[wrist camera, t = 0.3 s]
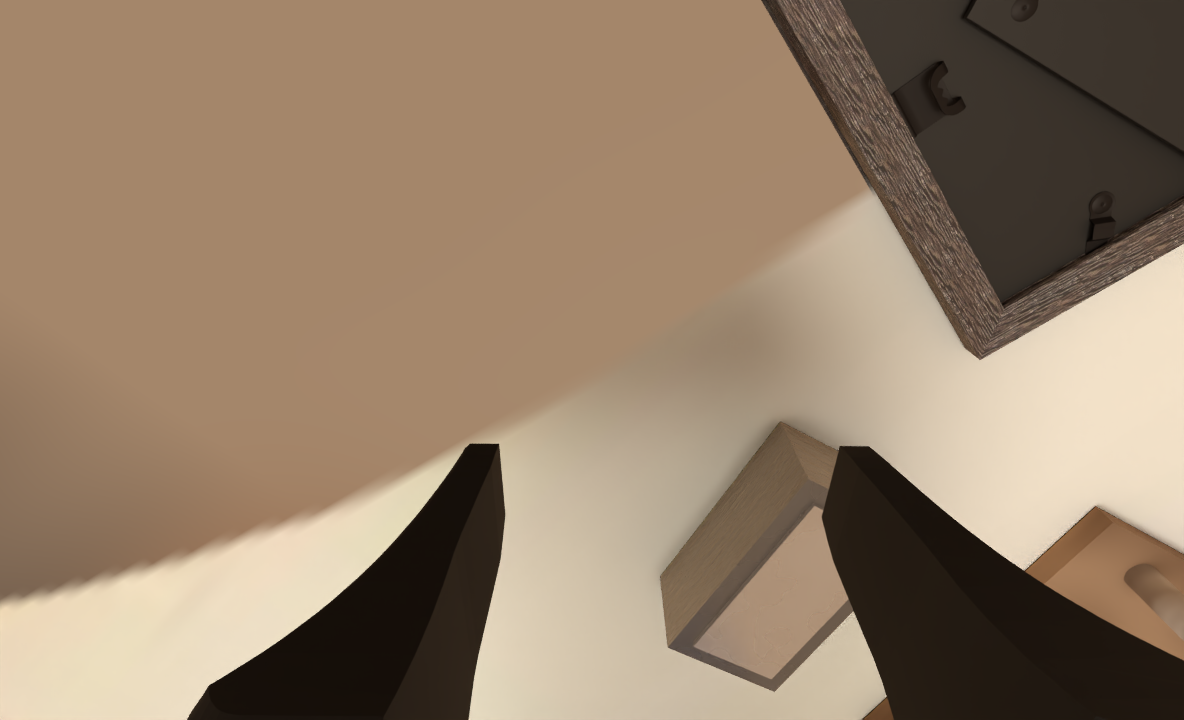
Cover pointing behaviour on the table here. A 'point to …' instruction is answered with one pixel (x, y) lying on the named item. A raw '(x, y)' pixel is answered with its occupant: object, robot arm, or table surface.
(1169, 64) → the picture frame
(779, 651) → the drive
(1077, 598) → the pegged wooden board
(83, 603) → the table surface
